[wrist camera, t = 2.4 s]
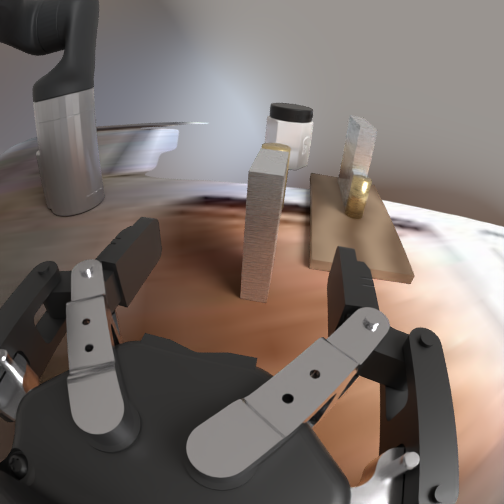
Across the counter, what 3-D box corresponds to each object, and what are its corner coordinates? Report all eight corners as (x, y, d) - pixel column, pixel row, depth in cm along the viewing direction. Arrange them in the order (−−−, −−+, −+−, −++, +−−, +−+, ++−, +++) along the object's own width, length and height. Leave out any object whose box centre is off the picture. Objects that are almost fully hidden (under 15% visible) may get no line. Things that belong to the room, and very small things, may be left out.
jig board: (309, 268, 31) (311, 259, 30) (309, 179, 52) (310, 172, 51) (410, 283, 30) (414, 275, 29) (372, 190, 51) (374, 184, 50)
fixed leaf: (345, 217, 38) (364, 131, 31) (337, 180, 49) (349, 115, 42) (363, 220, 38) (384, 136, 31) (351, 183, 49) (364, 118, 42)
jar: (291, 174, 53) (299, 111, 46) (256, 162, 57) (261, 103, 50) (312, 164, 59) (321, 109, 52) (280, 154, 63) (285, 102, 56)
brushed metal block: (267, 303, 26) (285, 176, 19) (239, 298, 27) (247, 170, 20) (277, 249, 33) (291, 145, 26) (254, 245, 33) (263, 141, 26)
